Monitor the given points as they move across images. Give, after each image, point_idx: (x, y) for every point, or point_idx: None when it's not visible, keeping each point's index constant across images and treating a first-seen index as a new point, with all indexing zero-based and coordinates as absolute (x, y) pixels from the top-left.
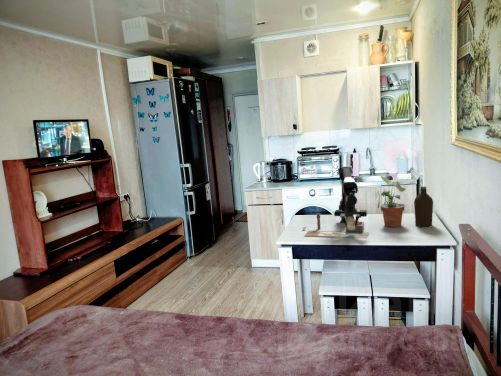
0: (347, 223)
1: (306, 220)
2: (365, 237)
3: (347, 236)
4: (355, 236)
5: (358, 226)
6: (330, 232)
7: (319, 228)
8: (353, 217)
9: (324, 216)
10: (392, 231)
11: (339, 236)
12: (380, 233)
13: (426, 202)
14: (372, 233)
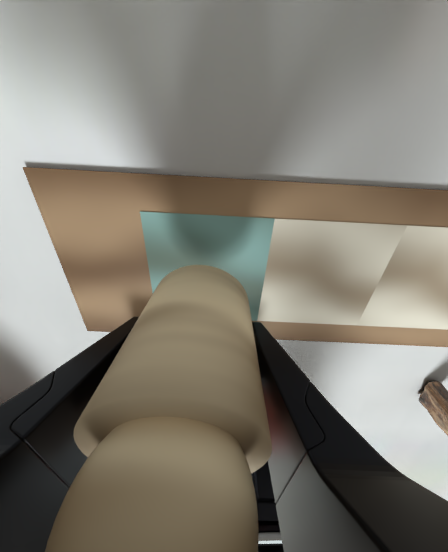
0: (245, 345)
1: (439, 469)
2: (61, 201)
3: (238, 219)
4: (162, 225)
5: None
6: (376, 319)
7: (433, 383)
8: (51, 534)
9: None
10: None
11: (318, 217)
12: (10, 321)
13: None
14: (63, 319)
